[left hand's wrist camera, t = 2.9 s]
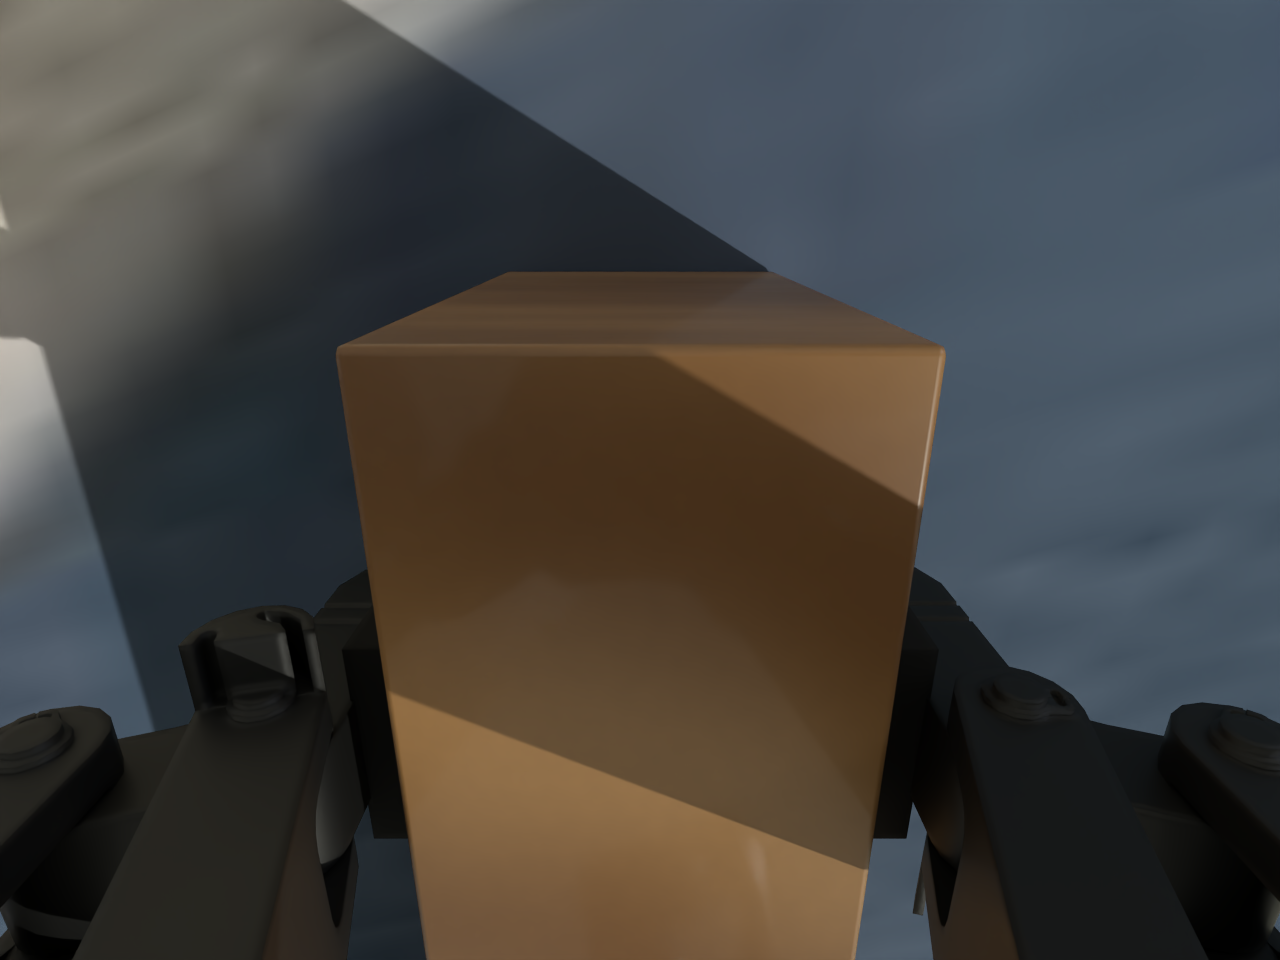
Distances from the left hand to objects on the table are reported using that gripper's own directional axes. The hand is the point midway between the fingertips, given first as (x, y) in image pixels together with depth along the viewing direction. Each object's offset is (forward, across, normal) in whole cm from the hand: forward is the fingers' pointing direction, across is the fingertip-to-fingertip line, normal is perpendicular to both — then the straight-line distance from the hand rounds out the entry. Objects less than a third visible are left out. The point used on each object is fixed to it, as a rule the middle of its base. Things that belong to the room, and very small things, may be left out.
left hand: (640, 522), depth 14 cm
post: (+1, 0, -24) cm, 24 cm away
